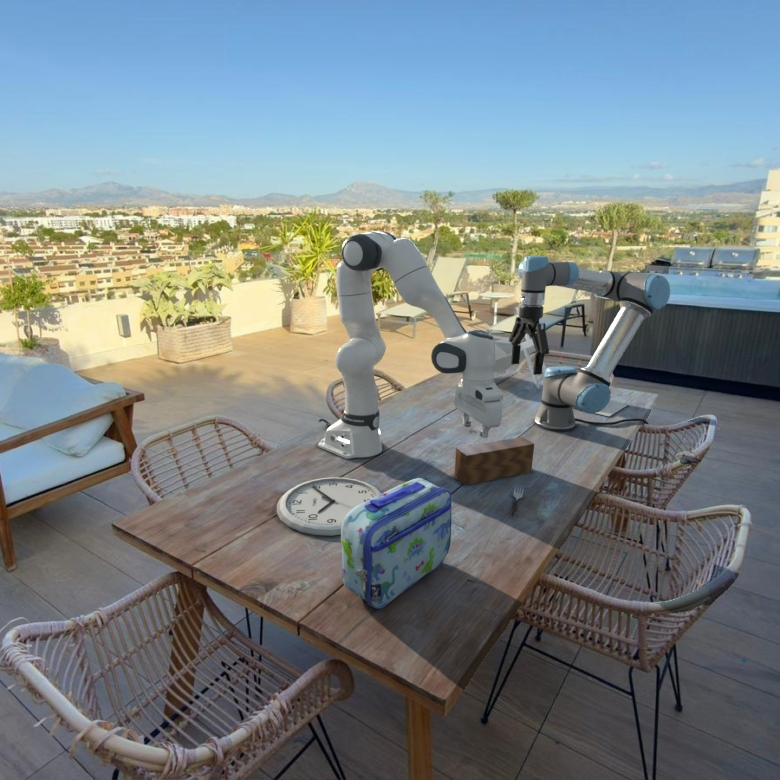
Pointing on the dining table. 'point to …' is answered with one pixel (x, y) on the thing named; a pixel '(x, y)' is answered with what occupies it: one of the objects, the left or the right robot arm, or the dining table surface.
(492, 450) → the box
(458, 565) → the dining table surface
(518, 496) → the fork
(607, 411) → the invitation card
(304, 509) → the wall clock
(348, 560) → the lunch box
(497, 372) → the white plastic object
